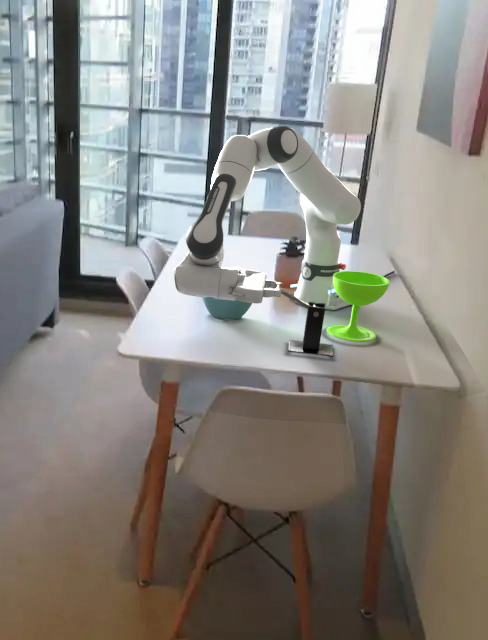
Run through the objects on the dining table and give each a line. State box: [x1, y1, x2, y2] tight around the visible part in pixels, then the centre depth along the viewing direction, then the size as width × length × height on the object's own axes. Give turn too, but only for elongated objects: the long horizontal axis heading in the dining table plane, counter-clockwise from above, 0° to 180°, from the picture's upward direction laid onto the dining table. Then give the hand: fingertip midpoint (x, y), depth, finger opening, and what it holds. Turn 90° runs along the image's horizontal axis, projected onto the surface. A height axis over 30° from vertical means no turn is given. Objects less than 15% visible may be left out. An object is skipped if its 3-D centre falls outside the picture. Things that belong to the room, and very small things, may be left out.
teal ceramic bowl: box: [201, 297, 253, 321], centre depth 224 cm, size 18×18×12 cm
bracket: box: [287, 302, 334, 357], centre depth 199 cm, size 12×9×14 cm
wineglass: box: [326, 270, 391, 342], centre depth 212 cm, size 16×16×18 cm
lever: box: [276, 284, 318, 310], centre depth 197 cm, size 14×6×2 cm, turn 77°
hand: (281, 289), depth 197 cm, fingers closed on lever, 6 cm apart
